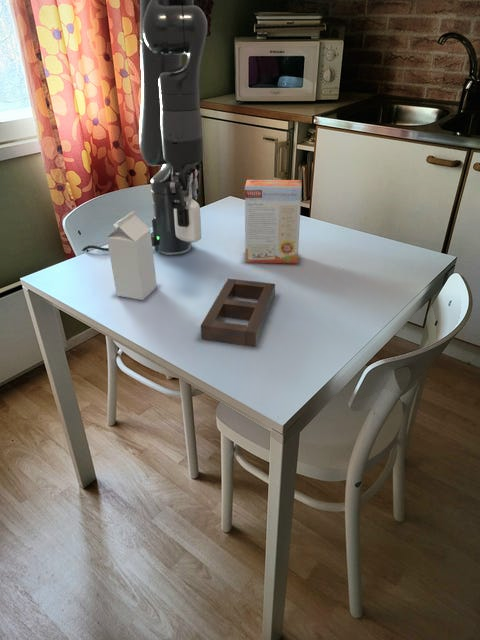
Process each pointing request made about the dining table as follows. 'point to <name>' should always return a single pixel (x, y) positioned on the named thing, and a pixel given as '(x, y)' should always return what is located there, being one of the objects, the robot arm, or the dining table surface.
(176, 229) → the eye dropper bottle
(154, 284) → the milk carton
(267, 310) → the holder
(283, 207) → the cracker box
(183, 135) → the robot arm
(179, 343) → the dining table surface
